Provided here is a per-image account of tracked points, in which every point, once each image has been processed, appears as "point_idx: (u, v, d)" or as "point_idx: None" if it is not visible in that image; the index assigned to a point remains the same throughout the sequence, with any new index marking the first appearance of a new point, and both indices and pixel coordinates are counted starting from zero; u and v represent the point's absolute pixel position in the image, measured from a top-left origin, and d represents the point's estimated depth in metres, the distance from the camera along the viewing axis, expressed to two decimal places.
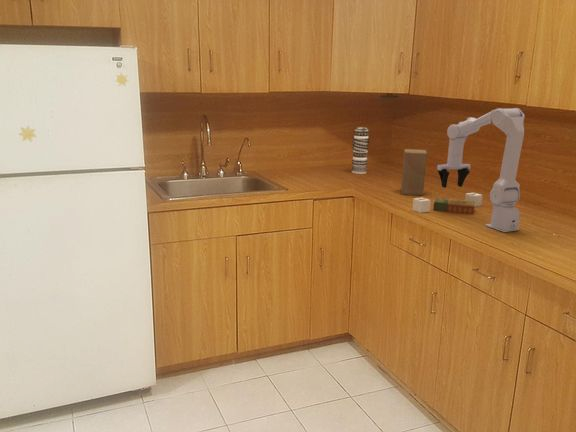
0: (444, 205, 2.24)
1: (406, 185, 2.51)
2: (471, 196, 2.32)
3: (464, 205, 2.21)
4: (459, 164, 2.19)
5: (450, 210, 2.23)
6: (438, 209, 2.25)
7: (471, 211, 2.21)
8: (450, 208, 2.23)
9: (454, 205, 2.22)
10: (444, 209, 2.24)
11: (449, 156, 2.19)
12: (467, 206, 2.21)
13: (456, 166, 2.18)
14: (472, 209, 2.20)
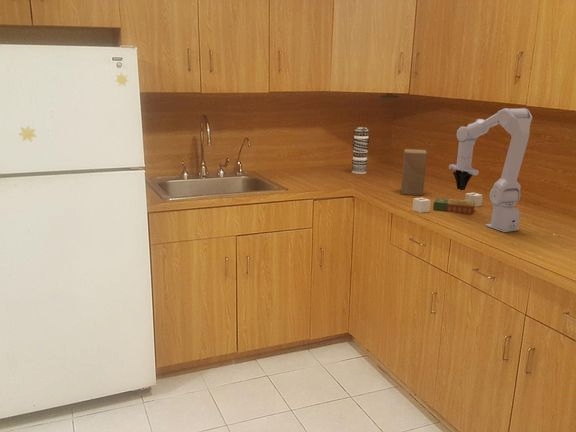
0: (444, 205, 2.24)
1: (406, 185, 2.51)
2: (471, 196, 2.32)
3: (464, 205, 2.21)
4: (459, 166, 2.17)
5: (450, 210, 2.23)
6: (438, 209, 2.25)
7: (471, 211, 2.20)
8: (450, 208, 2.23)
9: (454, 205, 2.22)
10: (444, 209, 2.24)
11: None
12: (467, 206, 2.20)
13: (456, 167, 2.19)
14: (472, 209, 2.20)
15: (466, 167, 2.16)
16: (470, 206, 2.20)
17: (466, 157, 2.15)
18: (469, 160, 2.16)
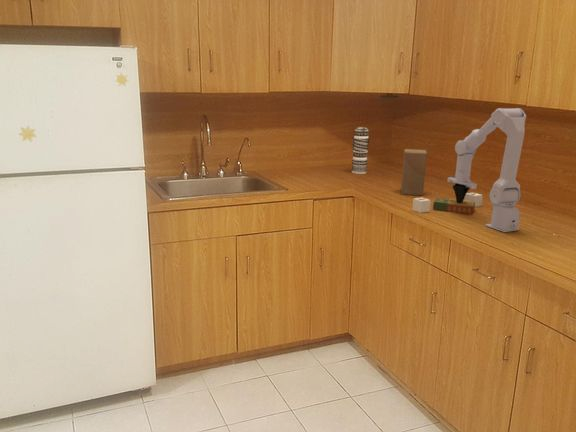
0: (444, 204, 2.24)
1: (406, 185, 2.51)
2: (471, 196, 2.32)
3: (463, 205, 2.21)
4: (458, 179, 2.19)
5: (449, 210, 2.23)
6: (438, 209, 2.25)
7: (470, 211, 2.20)
8: (450, 208, 2.23)
9: (453, 205, 2.22)
10: (443, 209, 2.24)
11: None
12: (466, 206, 2.20)
13: (455, 181, 2.20)
14: (471, 209, 2.20)
15: (464, 180, 2.18)
16: (470, 206, 2.20)
17: (464, 171, 2.17)
18: (467, 174, 2.17)
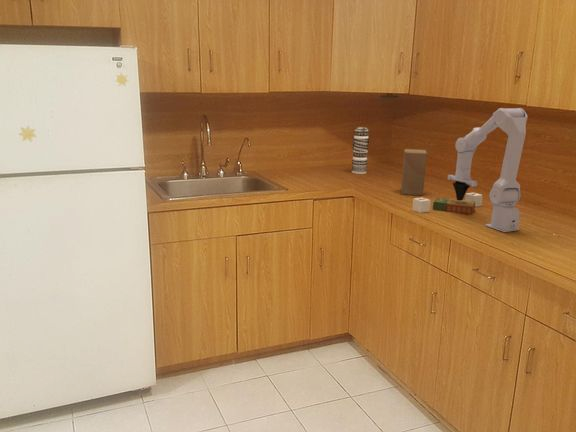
0: (444, 204, 2.24)
1: (406, 185, 2.51)
2: (471, 196, 2.32)
3: (463, 205, 2.21)
4: (458, 177, 2.19)
5: (449, 210, 2.24)
6: (437, 209, 2.25)
7: (470, 211, 2.20)
8: (449, 208, 2.23)
9: (453, 205, 2.22)
10: (443, 209, 2.24)
11: None
12: (466, 206, 2.20)
13: (455, 178, 2.20)
14: (471, 209, 2.20)
15: (465, 178, 2.18)
16: (469, 206, 2.20)
17: (465, 168, 2.17)
18: (468, 171, 2.17)
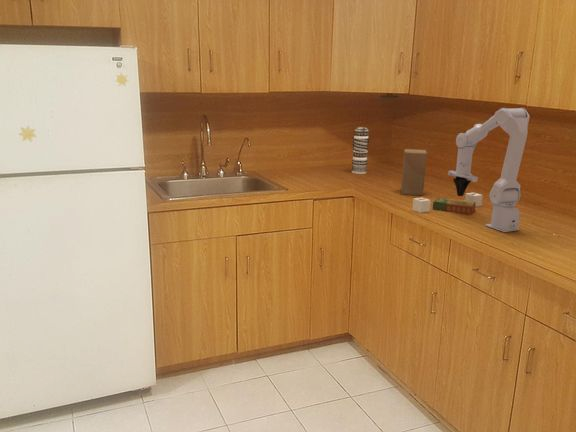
0: (443, 204, 2.24)
1: (406, 185, 2.51)
2: (471, 196, 2.32)
3: (463, 205, 2.21)
4: (458, 172, 2.18)
5: (449, 210, 2.24)
6: (437, 208, 2.26)
7: (470, 211, 2.20)
8: (449, 208, 2.23)
9: (453, 205, 2.22)
10: (443, 209, 2.25)
11: None
12: (466, 206, 2.20)
13: (455, 174, 2.19)
14: (471, 209, 2.20)
15: (465, 173, 2.17)
16: (469, 206, 2.20)
17: (465, 163, 2.16)
18: (468, 166, 2.17)
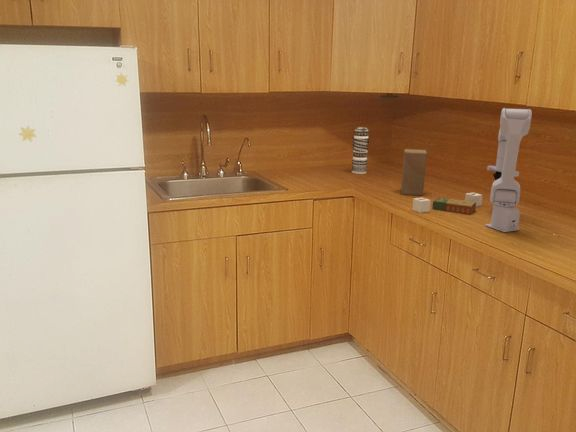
0: (443, 204, 2.24)
1: (406, 185, 2.51)
2: (471, 196, 2.32)
3: (462, 205, 2.21)
4: (499, 167, 2.17)
5: (448, 210, 2.24)
6: (437, 208, 2.26)
7: (469, 211, 2.20)
8: (449, 208, 2.24)
9: (452, 205, 2.23)
10: (443, 208, 2.25)
11: None
12: (465, 206, 2.20)
13: (496, 169, 2.18)
14: (470, 209, 2.19)
15: None
16: (468, 206, 2.19)
17: None
18: None
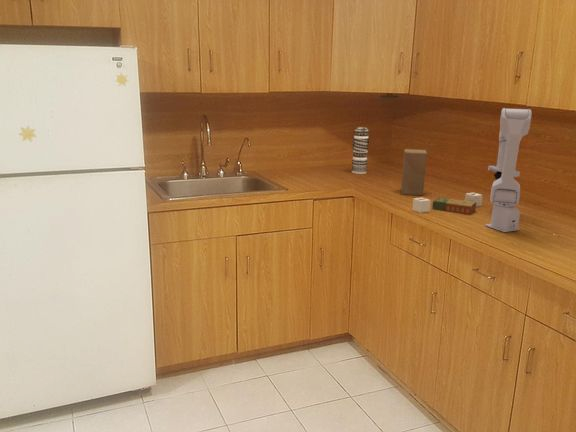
0: (443, 204, 2.25)
1: (406, 185, 2.51)
2: (471, 196, 2.32)
3: (462, 205, 2.21)
4: (500, 167, 2.17)
5: (448, 210, 2.24)
6: (437, 208, 2.26)
7: (469, 212, 2.20)
8: (448, 208, 2.24)
9: (452, 205, 2.23)
10: (442, 208, 2.25)
11: None
12: (465, 206, 2.20)
13: (497, 169, 2.18)
14: (469, 210, 2.19)
15: None
16: (468, 206, 2.19)
17: None
18: None
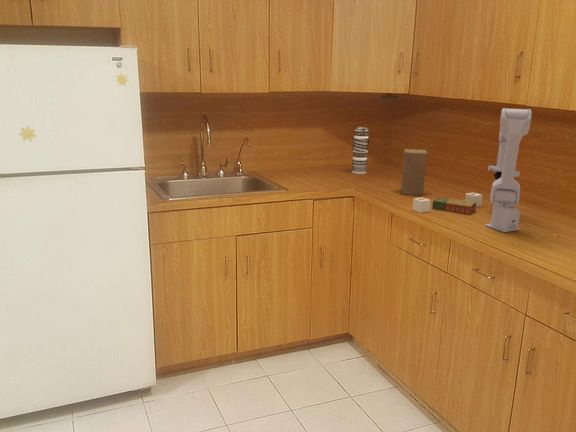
0: (443, 204, 2.25)
1: (406, 185, 2.51)
2: (471, 196, 2.32)
3: (461, 205, 2.21)
4: (500, 167, 2.17)
5: (448, 210, 2.24)
6: (437, 208, 2.26)
7: (468, 212, 2.20)
8: (448, 208, 2.24)
9: (452, 205, 2.23)
10: (442, 208, 2.25)
11: None
12: (464, 206, 2.20)
13: (497, 169, 2.18)
14: (469, 210, 2.19)
15: None
16: (468, 206, 2.19)
17: None
18: None
